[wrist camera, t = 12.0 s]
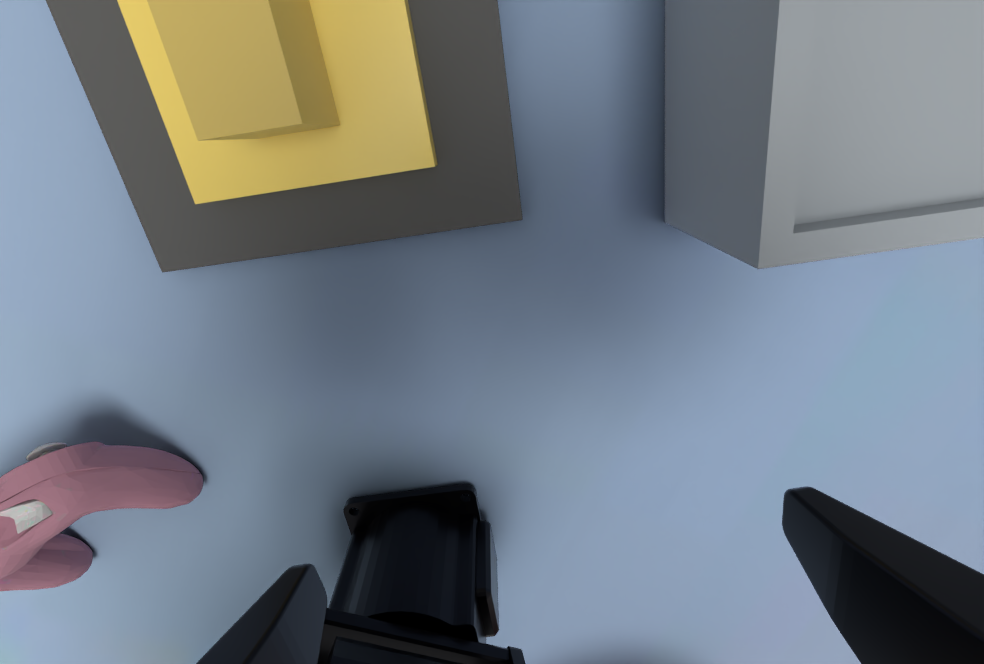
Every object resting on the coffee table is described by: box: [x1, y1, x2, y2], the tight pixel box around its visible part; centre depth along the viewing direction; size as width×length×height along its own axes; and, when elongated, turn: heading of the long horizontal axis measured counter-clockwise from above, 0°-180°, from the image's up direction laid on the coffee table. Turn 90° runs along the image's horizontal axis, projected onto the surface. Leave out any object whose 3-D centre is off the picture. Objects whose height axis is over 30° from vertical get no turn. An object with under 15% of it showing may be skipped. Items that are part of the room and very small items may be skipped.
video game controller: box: [0, 442, 203, 591], centre depth 20 cm, size 10×5×7 cm, turn 125°
